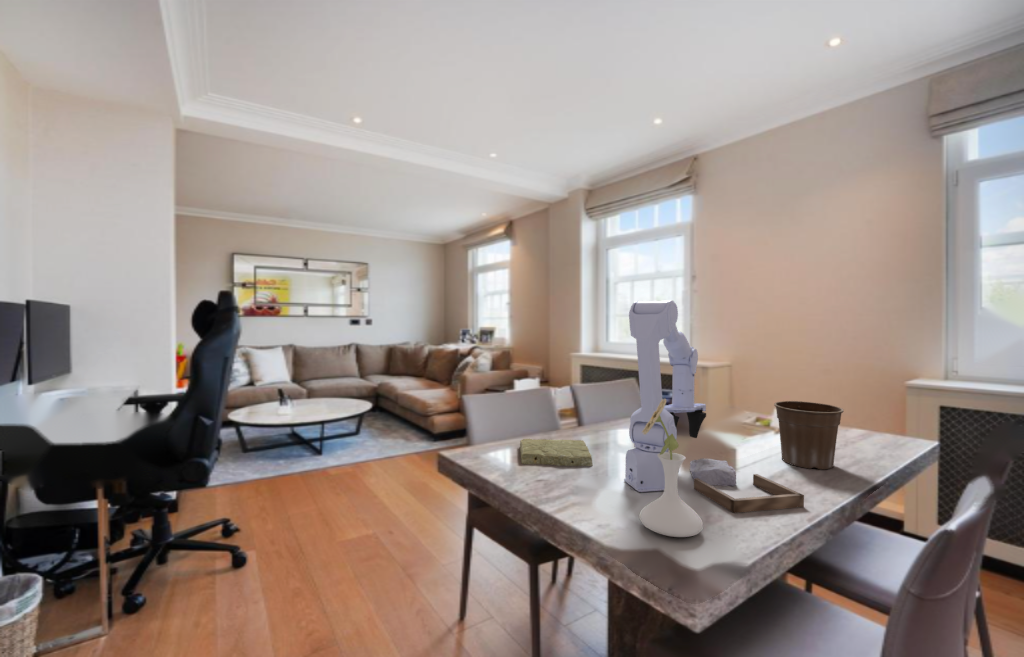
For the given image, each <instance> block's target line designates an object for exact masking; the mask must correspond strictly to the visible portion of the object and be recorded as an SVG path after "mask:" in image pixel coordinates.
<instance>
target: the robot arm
mask: <svg viewBox="0 0 1024 657" xmlns="http://www.w3.org/2000/svg"><path fill="white" fill-rule="evenodd" d="M676 303H677V302H675V301H674V300H672V299H670V300H660V301H658V300H652V301H650V300H649V301H639V300H635V301H634V302H633V303H632V305H631V306H630V308H629V311H628V320H629V322H628V323H629V331H630V336H631V337H633V338H634V339H635V340H636V354H637V366H638V367H637V368H638V381H639V382H638V384H639V394H640V407H639V408H638V409H636V410H635V411H634V412H632V414H631V415H630V420H629V421H630V422H629V423H630V424H629V430H628V432H629V433H628V435H629V439H630V440H631V443H633V444H634V448H630V449H628V450H627V451H626V454H625V472H624V473H625V474H624V475H625V478H624V479H623V481H624V482H625V483H626V484H628V485H629V487H630V486H631V487H632V488H633V489H634V490H636V492H639V493H645V492H660V491H664V489H665V475H664V468H663V465H662V462H661V460H660V459H659V457H658V454H659V453H661V450H662V448H663V447H664V445H665V443H664V441H665V440H666V438H667V435H666V432H665V430H664V428H663V426H662V424H661V422H655V423H654V425H653V426H652V428H651V429H650V430H649V432H648V433H647V434H643V433H644V432H643V433H642V431H643V430H644V428H645V426H646V424H647V423H648V422H649V421H650V419H651V417H652V415H653V413H654V412H655V411H656V410H657V408H658V406H659V404H660V402H661V401H662V399H663V391H662V390H663V389H662V376H661V375H662V373H661V358H660V357H661V356H660V341H662V340H663V342H662V343H663V345H664V347H665V348H666V350H667V352H668V354H667V355H668V361H669V365H670V366H671V367H672V383H671V384H672V386H671V387H672V389H671V392H672V393H671V394H672V395H671V399H672V400H671V404H668V405H667V404H665V406H664V408H663V410H662V412H661V414H660V417H661V420H662V422H663V424H664V426H665V428H666V430H667V432H668V435H669V436H670V435H671V434H673V435H674V437H675V439H676V440H677V435H678V434H677V433H678V431H677V425H678V422H679V419H680V416H677V415H676V414H679V413H681V414H682V413H683V414H684V413H686V415H687V420H688V433H689V434H688V435H689V437H691V438H694V439H697V438H698V435H699V432H700V428H701V425H702V424H703V422H704V421H705V419H706V418H707V413H706V411H707V408H706V407H707V405H706V403H700V402H699V403H697V402H696V403H695V376H696V375H695V374H696V373H697V366H698V360H699V353H698V350H697V349H696V348H695V347H694V346H691V345H690V343H689V341H688V339H687V337H686V335H685V334H684V332H682V331H680V330H679V329H678V327H677V322H678V319H679V318H678V317H679V310H678V306H677V304H676ZM665 452H670V450H669V449H668V448H667V449H666V451H665Z"/></svg>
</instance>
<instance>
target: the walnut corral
mask: <svg viewBox="0 0 1024 657" xmlns="http://www.w3.org/2000/svg"><path fill="white" fill-rule="evenodd" d="M752 476H753V477H752V478H753V479H752V484H753V486H755V487H757V488H759V489H761V490H764V491H766V492H767V493H770V494H771V495H764V496H753V497H752V496H751V497H738V498H734V497H732V496H731V495H729V494H728V493H725V492H724V491H722V490H720V489H718V488H716V487H715V486H714V485H709V484H708V483H706V482H704V481H702V480H700V479H699V478H694V479H693V490H694V491H697V492H698V493H700V494H701V495H703V496H705V497H706V498H709V499H710V500H711V501H714V502H715V503H716V504H719V505H720V506H721V507H722V508H725V509H726V510H728V511H730V512H731V513H733V514H738V513H750V512H759V511H760V512H761V511H772V510H783V509H795V508H804V507H805V494H802V493H800V492H798V491H796V490H793V489H792V488H789V487H786V486H784V485H782V484H780V483H777V482H776V481H773V480H771V479H769V478H766V477H764V476H762V475H760V474H758V473H753V475H752Z"/></svg>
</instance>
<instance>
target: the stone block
mask: <svg viewBox="0 0 1024 657" xmlns="http://www.w3.org/2000/svg"><path fill="white" fill-rule="evenodd" d="M689 470H690V474H691V475H692V476H691V477H692V479H693V480H694V478H699V479H700V480H702V481H704V482H706V483H708V484H709V485H711V486H725V487H729V486H730V487H736V485H737V472H736V470H735V468H734V467H733V466H731V465H729V464H728V461H727V460H719V459H713V458H699V459H694V460H691V461H690V462H689Z"/></svg>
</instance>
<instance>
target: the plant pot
mask: <svg viewBox="0 0 1024 657" xmlns="http://www.w3.org/2000/svg"><path fill="white" fill-rule="evenodd" d="M773 406H774V407H775V410H776V411H775V412H776V418H777V419H778V420H777V421H778V427H779V428H778V429H779V439H780V449H781V450H780V451H781V452H780V453H781V460H783V462H785V463H787V464H789V465H792V466H794V467H798V468H803V469H804V468H805V469H809V470H810V469H812V468H816V469H817V470H830V469H832V468H833V467H834V464H835V457H836V456H835V454H836V447H837V446H836V445H837V439H838V438H837V437H838V433H839V432H838V430H839V426H840V425H841V419H842V414H843V413H844V410H845V409H843V408H842V407H839V406H837V405H832V404H826V403H819V402H812V401H810V402H809V401H800V400H799V401H798V400H796V401H795V400H785V401H784V400H783V401H776V402H774V404H773Z"/></svg>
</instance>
